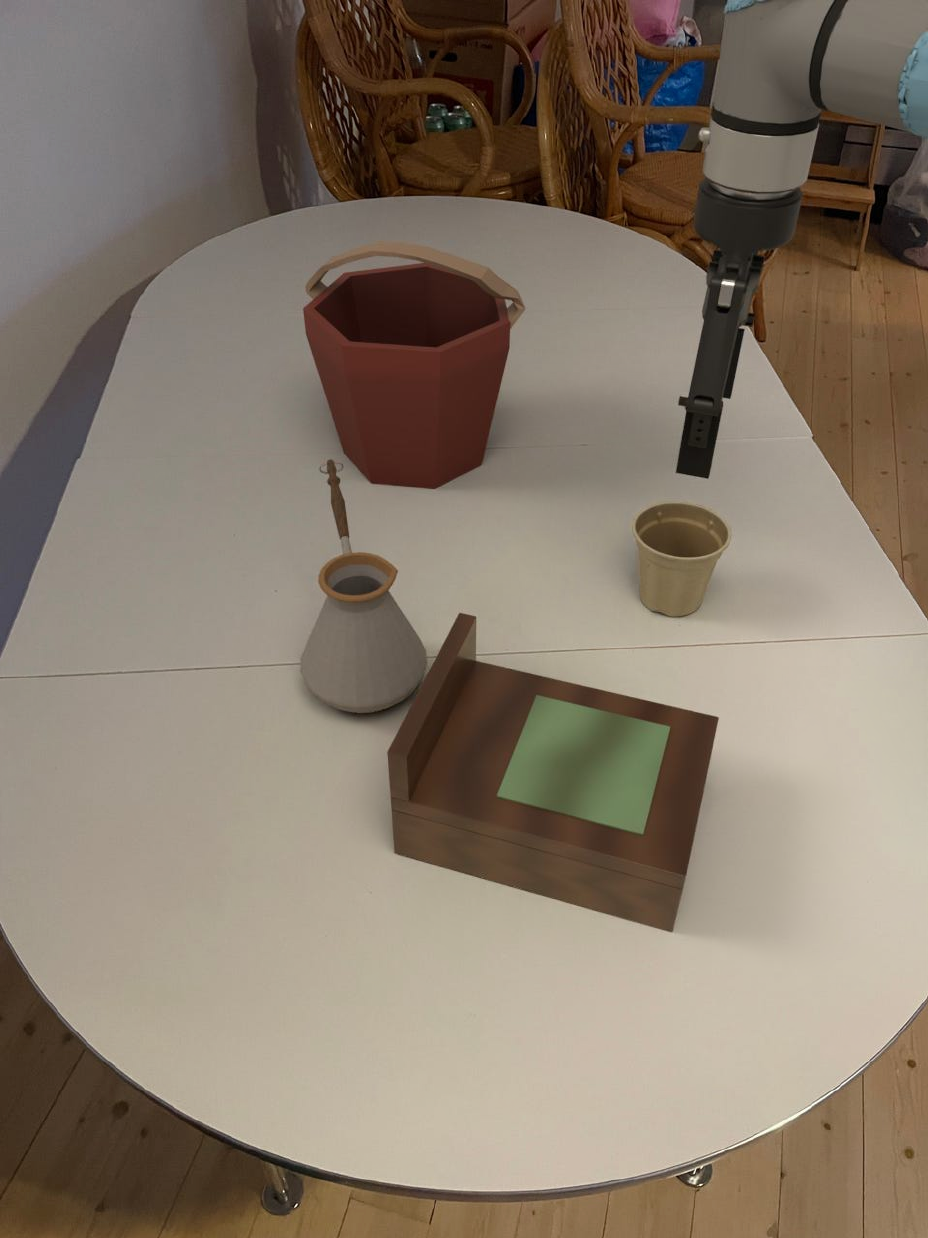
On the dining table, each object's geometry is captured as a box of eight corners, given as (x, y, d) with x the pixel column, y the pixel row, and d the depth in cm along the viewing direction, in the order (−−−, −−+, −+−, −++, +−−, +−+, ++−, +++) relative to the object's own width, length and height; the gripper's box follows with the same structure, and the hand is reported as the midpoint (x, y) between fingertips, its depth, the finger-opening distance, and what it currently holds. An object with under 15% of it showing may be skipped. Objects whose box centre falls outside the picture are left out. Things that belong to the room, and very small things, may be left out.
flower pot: (603, 594, 106) (611, 526, 100) (664, 557, 110) (675, 489, 105) (675, 642, 101) (688, 572, 95) (735, 600, 105) (751, 531, 100)
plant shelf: (705, 773, 88) (729, 672, 80) (672, 932, 77) (696, 832, 69) (459, 713, 93) (459, 612, 85) (394, 853, 82) (386, 752, 74)
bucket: (548, 442, 127) (561, 240, 111) (444, 532, 114) (441, 316, 97) (388, 387, 138) (378, 194, 121) (276, 463, 124) (247, 257, 107)
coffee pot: (439, 717, 93) (436, 587, 83) (310, 739, 91) (292, 609, 81) (396, 571, 109) (390, 447, 99) (286, 587, 107) (268, 462, 97)
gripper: (723, 125, 86) (685, 359, 100) (672, 237, 68) (634, 502, 83) (816, 135, 84) (764, 372, 99) (788, 253, 67) (729, 521, 81)
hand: (704, 432), depth 91 cm, fingers open, 13 cm apart
